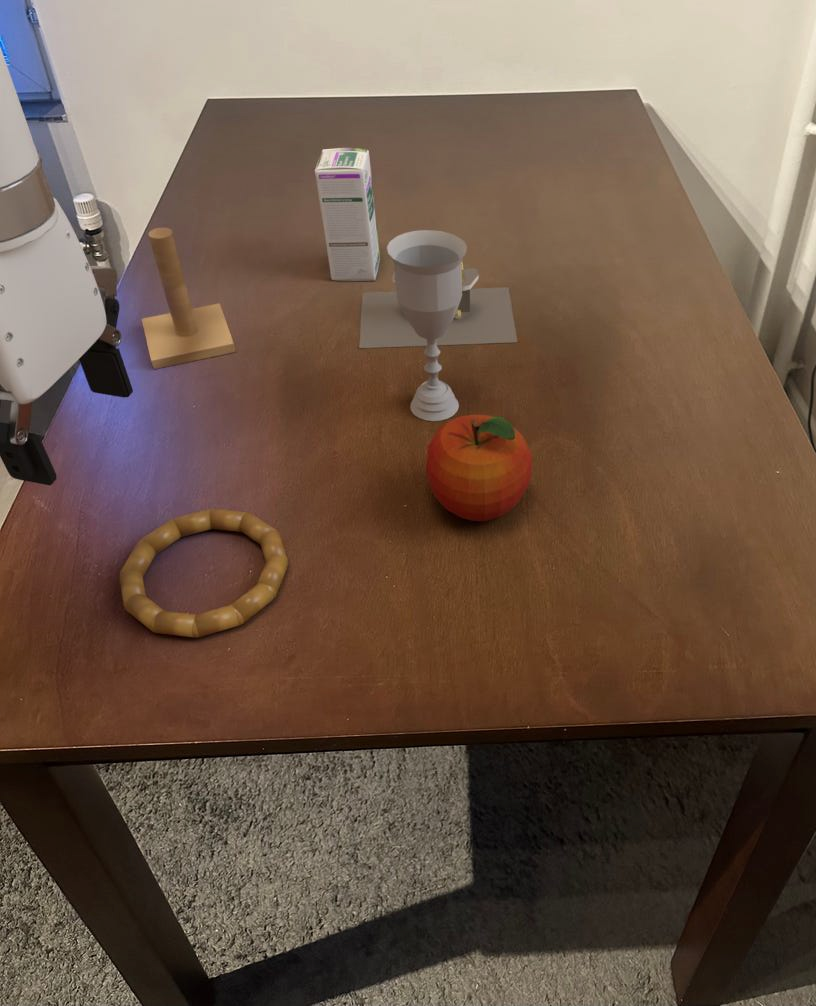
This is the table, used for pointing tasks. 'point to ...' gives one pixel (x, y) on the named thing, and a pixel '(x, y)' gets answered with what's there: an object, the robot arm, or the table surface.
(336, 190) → the syrup box
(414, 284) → the chalice
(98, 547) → the table surface
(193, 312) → the post
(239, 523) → the ring
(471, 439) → the fruit
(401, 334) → the platform
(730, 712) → the table surface
